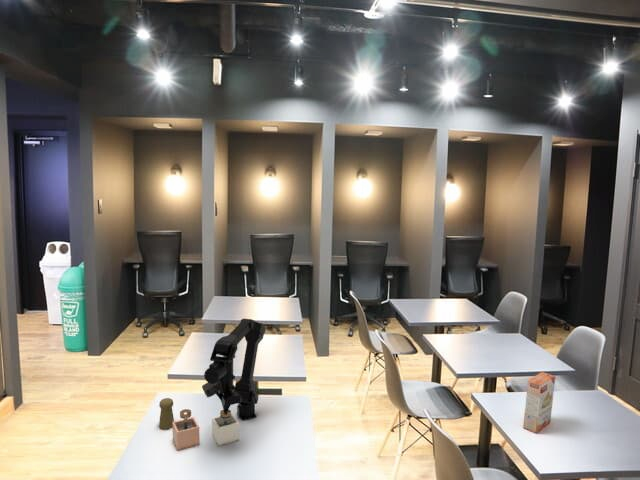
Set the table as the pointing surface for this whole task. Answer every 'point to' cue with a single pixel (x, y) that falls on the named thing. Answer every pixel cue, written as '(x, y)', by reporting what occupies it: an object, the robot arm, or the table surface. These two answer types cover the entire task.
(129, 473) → the table surface
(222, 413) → the round copper knob
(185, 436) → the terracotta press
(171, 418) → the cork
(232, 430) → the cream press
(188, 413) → the brown and grey plunger
